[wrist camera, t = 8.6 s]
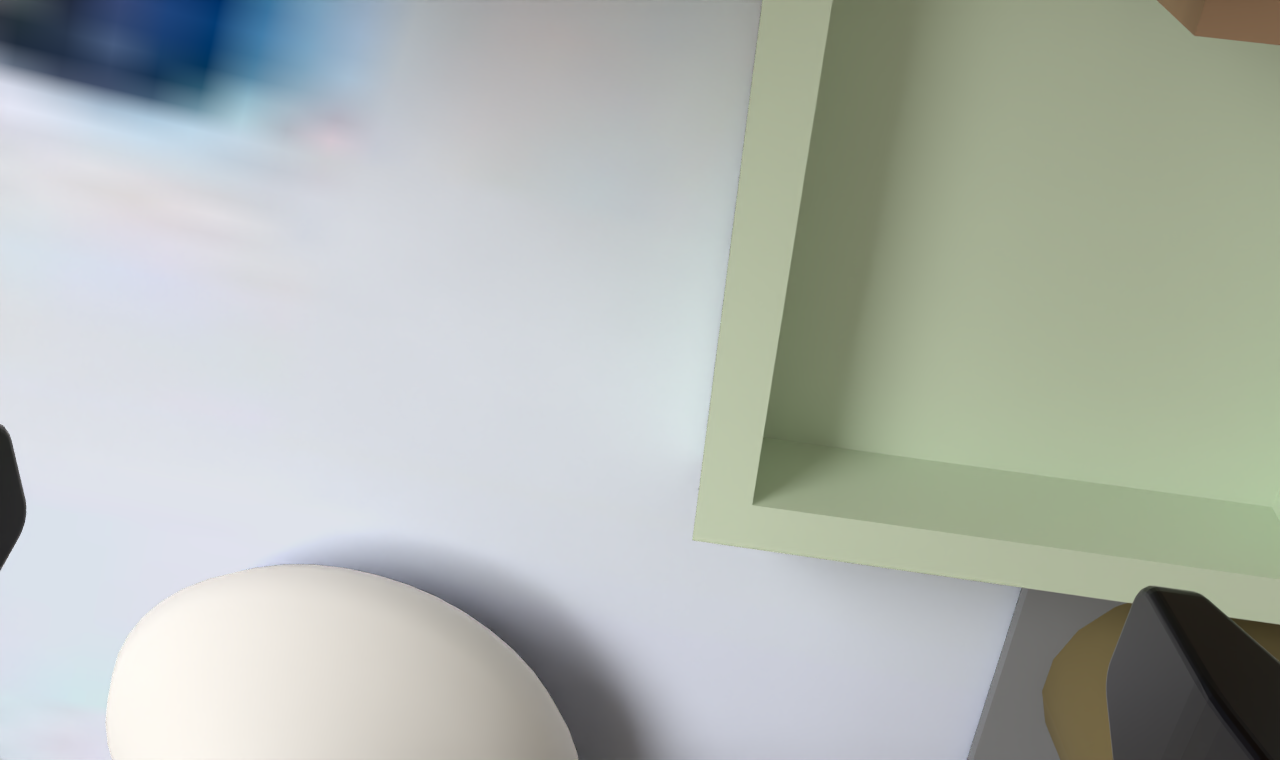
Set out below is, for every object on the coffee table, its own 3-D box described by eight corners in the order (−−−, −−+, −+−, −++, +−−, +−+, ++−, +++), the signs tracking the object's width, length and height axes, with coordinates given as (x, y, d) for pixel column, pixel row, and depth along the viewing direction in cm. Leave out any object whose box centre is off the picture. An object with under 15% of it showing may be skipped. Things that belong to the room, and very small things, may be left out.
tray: (1300, 545, 24) (1350, 634, 21) (703, 462, 25) (692, 540, 22) (1750, -417, 15) (1905, -432, 13) (827, -492, 16) (829, -519, 14)
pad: (1307, 832, 28) (1313, 847, 27) (960, 778, 28) (962, 792, 28) (1456, 567, 23) (1466, 580, 23) (1046, 509, 24) (1049, 522, 24)
